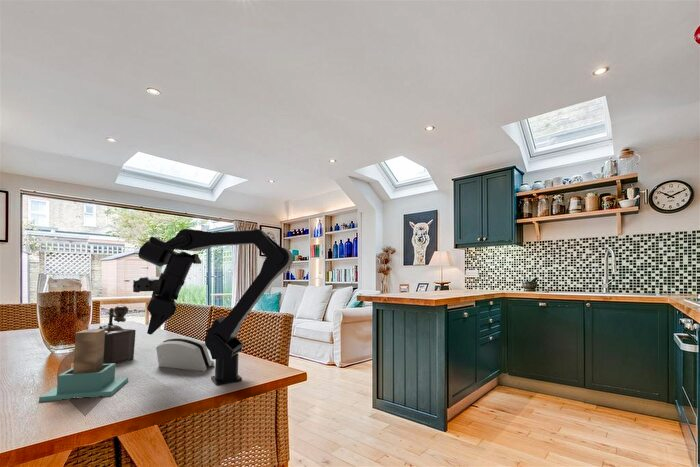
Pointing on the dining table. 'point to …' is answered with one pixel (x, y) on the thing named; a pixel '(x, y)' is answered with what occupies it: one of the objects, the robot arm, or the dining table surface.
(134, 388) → the dining table surface
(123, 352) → the dark brown wooden block
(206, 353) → the grey curved block
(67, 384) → the well
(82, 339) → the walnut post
